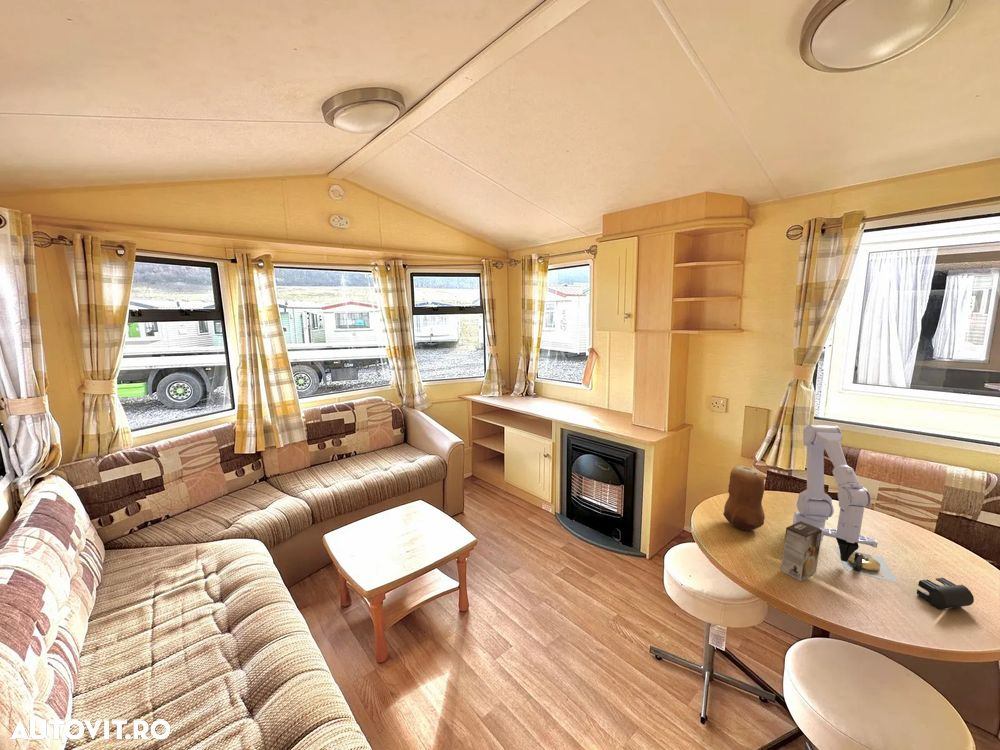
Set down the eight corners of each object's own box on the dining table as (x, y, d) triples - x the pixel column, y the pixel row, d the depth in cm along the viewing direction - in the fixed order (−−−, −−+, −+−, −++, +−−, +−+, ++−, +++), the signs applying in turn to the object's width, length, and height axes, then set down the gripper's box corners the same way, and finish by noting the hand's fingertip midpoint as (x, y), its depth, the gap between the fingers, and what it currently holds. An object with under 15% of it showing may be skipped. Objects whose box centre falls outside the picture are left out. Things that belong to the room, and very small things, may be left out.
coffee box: (795, 562, 137) (800, 520, 134) (816, 573, 132) (823, 529, 129) (779, 571, 133) (785, 527, 130) (801, 582, 127) (808, 536, 125)
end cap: (942, 616, 114) (947, 595, 113) (914, 598, 121) (918, 578, 119) (971, 612, 115) (976, 591, 114) (941, 595, 122) (946, 575, 121)
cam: (853, 553, 140) (856, 539, 139) (883, 566, 133) (886, 551, 132) (840, 563, 135) (842, 548, 134) (871, 577, 128) (873, 561, 127)
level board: (844, 572, 132) (845, 569, 132) (834, 548, 145) (835, 545, 145) (897, 586, 126) (898, 582, 126) (882, 559, 139) (883, 556, 138)
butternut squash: (751, 519, 165) (757, 462, 161) (769, 537, 152) (777, 476, 148) (716, 517, 166) (722, 461, 162) (732, 536, 153) (738, 475, 149)
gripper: (824, 522, 131) (818, 559, 134) (883, 534, 124) (876, 573, 126) (820, 512, 137) (814, 548, 140) (876, 524, 130) (869, 561, 132)
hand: (843, 559), depth 133 cm, fingers closed
